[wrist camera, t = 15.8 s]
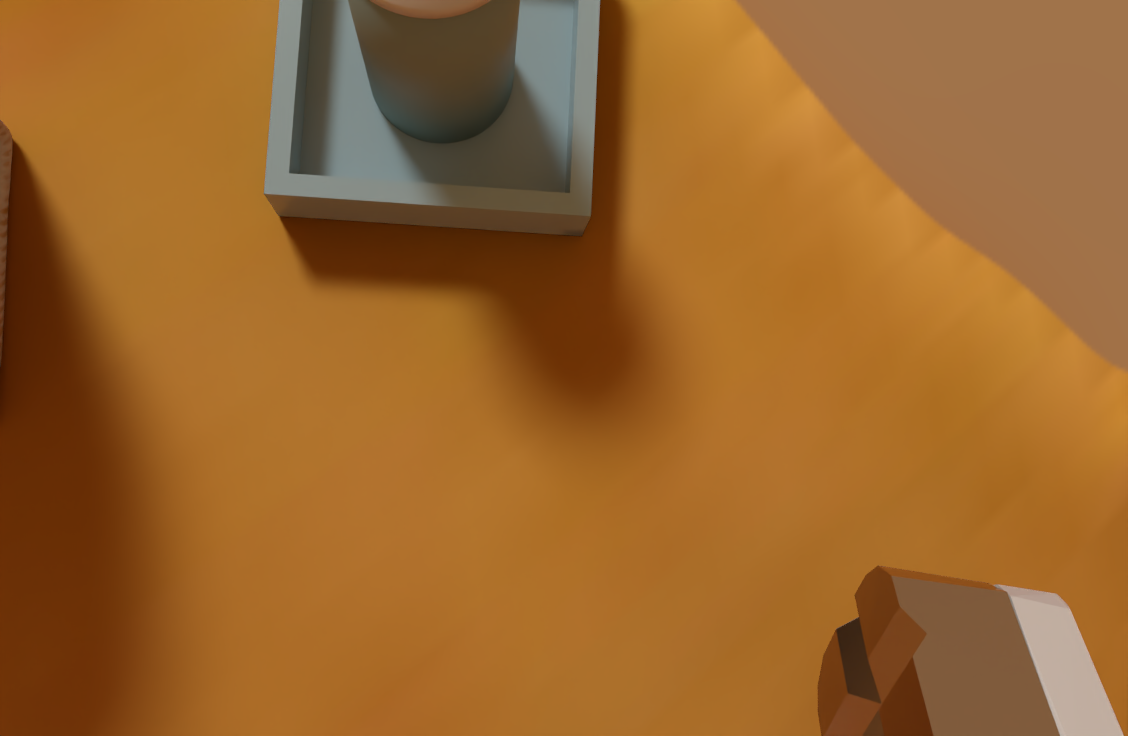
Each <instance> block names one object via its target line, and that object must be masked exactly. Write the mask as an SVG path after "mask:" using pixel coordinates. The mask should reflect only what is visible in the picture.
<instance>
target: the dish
mask: <svg viewBox="0 0 1128 736" xmlns="http://www.w3.org/2000/svg"><path fill="white" fill-rule="evenodd" d="M599 16H600V0H520V6H519V18H518V30H517V41H516V53H515V65H514V76H513V86H512V91H511V95H510V98H509V100H508V103H507V105H506V107H505V109H504V110H503V112H502V114H501V115H500V116H499V117H498V119H497V120H496V121H495V122H494V123H493V124H492V125H491V126H490V127H488V128H487V129H486V130H484V131H483V132H482V133H480V134H478V135H476V136H474V137H472V138H469V139H467V140H464V141H460V142H455V143H430V142H425V141H422V140H418V139H416V138H413V137H411V136H409V135H407V134H405V133H403V132H402V131H400V130H399V129H397V128H396V127H395V126H394V125H393V124H391V123H390V122H389V121H388V120H387V118H386V117H385V116H384V115H383V114H382V112H381V111H380V109H379V107H378V106H377V104H376V102H375V99H374V97H373V94H372V91H371V87H370V83H369V79H368V76H367V72H366V68H365V64H364V60H363V56H362V53H361V49H360V45H359V41H358V37H357V33H356V30H355V26H354V22H353V18H352V14H351V10H350V7H349V3H348V0H280V4H279V16H278V28H277V40H276V53H275V65H274V77H273V89H272V102H271V114H270V126H269V138H268V151H267V163H266V175H265V187H264V194H265V196H266V198H267V199H268V201H269V202H270V204H271V205H272V207H273V208H274V210H275V211H276V213H277V214H278V216H288V217H303V218H317V219H332V220H347V221H362V222H377V223H392V224H407V225H422V226H437V227H452V228H467V229H481V230H496V231H511V232H526V233H541V234H556V235H571V236H582V235H583V232H584V230H585V228H586V226H587V224H588V222H589V219H590V217H591V204H592V180H593V157H594V133H595V110H596V86H597V63H598V39H599Z"/></svg>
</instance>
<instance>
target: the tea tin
mask: <svg viewBox="0 0 1128 736" xmlns="http://www.w3.org/2000/svg"><path fill="white" fill-rule="evenodd" d="M348 3H349V7H350V10H351V14H352V18H353V22H354V26H355V30H356V33H357V37H358V41H359V45H360V49H361V53H362V56H363V60H364V64H365V68H366V72H367V76H368V79H369V83H370V87H371V91H372V94H373V97H374V99H375V102H376V104H377V106H378V107H379V109H380V111H381V112H382V114H383V115H384V116H385V117H386V118H387V120H388V121H389V122H390V123H391V124H393V125H394V126H395V127H396V128H397V129H399V130H400V131H402V132H403V133H405V134H407V135H409V136H411V137H413V138H416V139H418V140H422V141H425V142H430V143H455V142H460V141H464V140H467V139H469V138H472V137H474V136H476V135H478V134H480V133H482V132H483V131H484V130H486V129H487V128H488V127H490V126H491V125H492V124H493V123H494V122H495V121H496V120H497V119H498V117H499V116H500V115H501V114H502V112H503V110H504V109H505V107H506V105H507V103H508V100H509V98H510V95H511V91H512V86H513V76H514V65H515V53H516V41H517V30H518V18H519V6H520V0H348Z"/></svg>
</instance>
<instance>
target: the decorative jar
mask: <svg viewBox="0 0 1128 736" xmlns="http://www.w3.org/2000/svg"><path fill="white" fill-rule="evenodd" d="M12 144H13V142H12V136H11V133H10V131H9V129H8V128H7V127H6V126H5V124H4V123H3V122H2V121H1V120H0V366H1V356H2V342H3V325H4V300H5V281H6V258H7V232H8V225H7V223H8V208H9V193H10V181H11V163H12Z"/></svg>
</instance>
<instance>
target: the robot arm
mask: <svg viewBox="0 0 1128 736" xmlns="http://www.w3.org/2000/svg"><path fill="white" fill-rule="evenodd" d="M855 600H856V605H857V609H858V614H859V617H858V618H856V619H854V620H852V621H851V622H849V623H847V624H845V625H843V626H841V627H839V628H837V629H836V630H835V632H834V634H833V636H832V639H831V641H830V643H829V645H828V647H827V649H826V651H825V653H824V655H823V660H822V665H821V671H820V676H819V681H818V716H819V723H820V730H821V736H1124V735H1123V732H1122V730H1121V728H1120V725H1119V723H1118V721H1117V718H1116V716H1115V714H1114V711H1113V709H1112V706H1111V704H1110V702H1109V699H1108V697H1107V695H1106V692H1105V690H1104V688H1103V685H1102V683H1101V681H1100V678H1099V676H1098V674H1097V671H1096V669H1095V667H1094V664H1093V662H1092V660H1091V657H1090V655H1089V653H1088V650H1087V648H1086V645H1085V643H1084V641H1083V638H1082V636H1081V634H1080V631H1079V629H1078V627H1077V624H1076V622H1075V620H1074V617H1073V615H1072V613H1071V610H1070V608H1069V607H1068V605H1067V604H1066V603H1065V602H1064V601H1063V600H1062V599H1061V598H1060V597H1059V596H1058V595H1057V594H1054V593H1048V592H1042V591H1035V590H1029V589H1023V588H1016V587H1010V586H1004V585H991V584H989V583H985V582H978V581H972V580H966V579H959V578H953V577H947V576H941V575H934V574H928V573H922V572H915V571H909V570H903V569H896V568H890V567H884V566H877V567H875V568H874V569H873V570H872V571H870V572H869V573H868V574H866V576H865V577H864V579H863V581H862V583H861V584H860V586H859V588H858V590H857V592H856V593H855Z"/></svg>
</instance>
